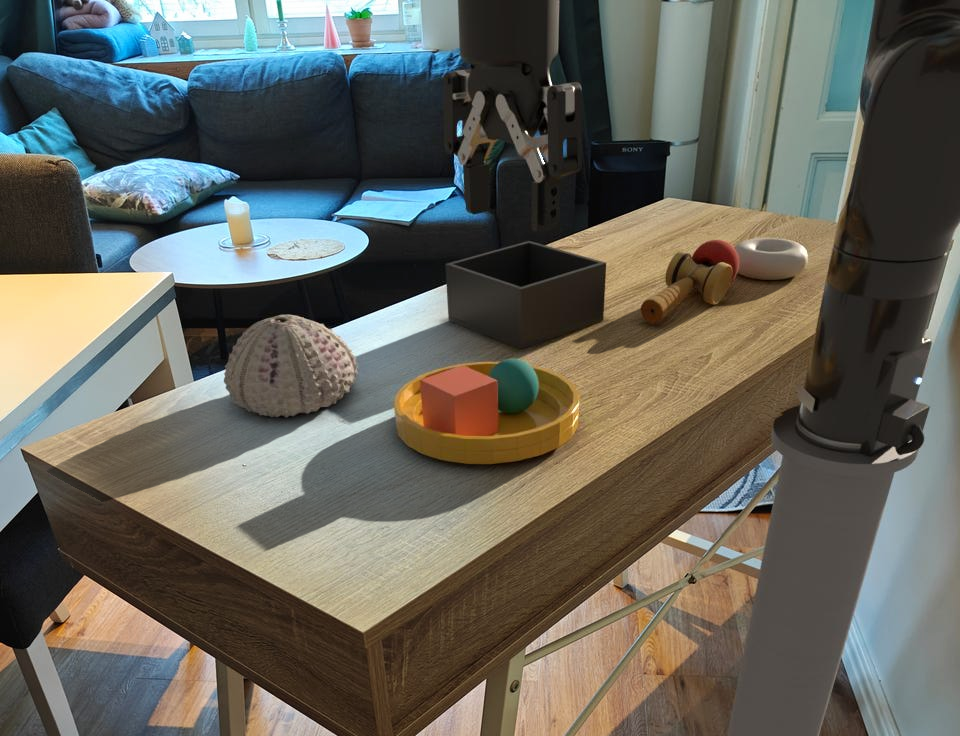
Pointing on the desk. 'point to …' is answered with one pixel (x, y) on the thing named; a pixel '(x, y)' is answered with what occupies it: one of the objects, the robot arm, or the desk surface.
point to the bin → (525, 293)
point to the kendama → (694, 278)
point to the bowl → (517, 432)
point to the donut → (771, 258)
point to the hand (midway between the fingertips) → (509, 221)
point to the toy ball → (515, 385)
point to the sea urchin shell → (289, 367)
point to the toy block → (460, 402)
